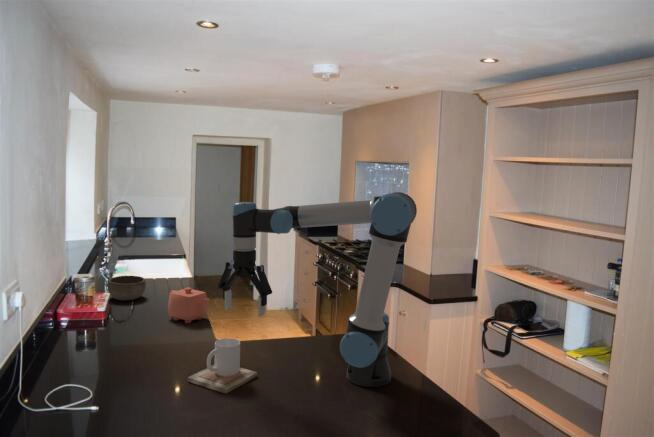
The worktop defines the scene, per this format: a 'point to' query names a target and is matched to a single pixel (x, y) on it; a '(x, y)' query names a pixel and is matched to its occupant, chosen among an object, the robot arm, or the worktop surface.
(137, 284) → the bowl
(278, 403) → the worktop surface
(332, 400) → the worktop surface
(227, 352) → the mug
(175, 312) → the teapot
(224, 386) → the board
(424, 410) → the worktop surface
